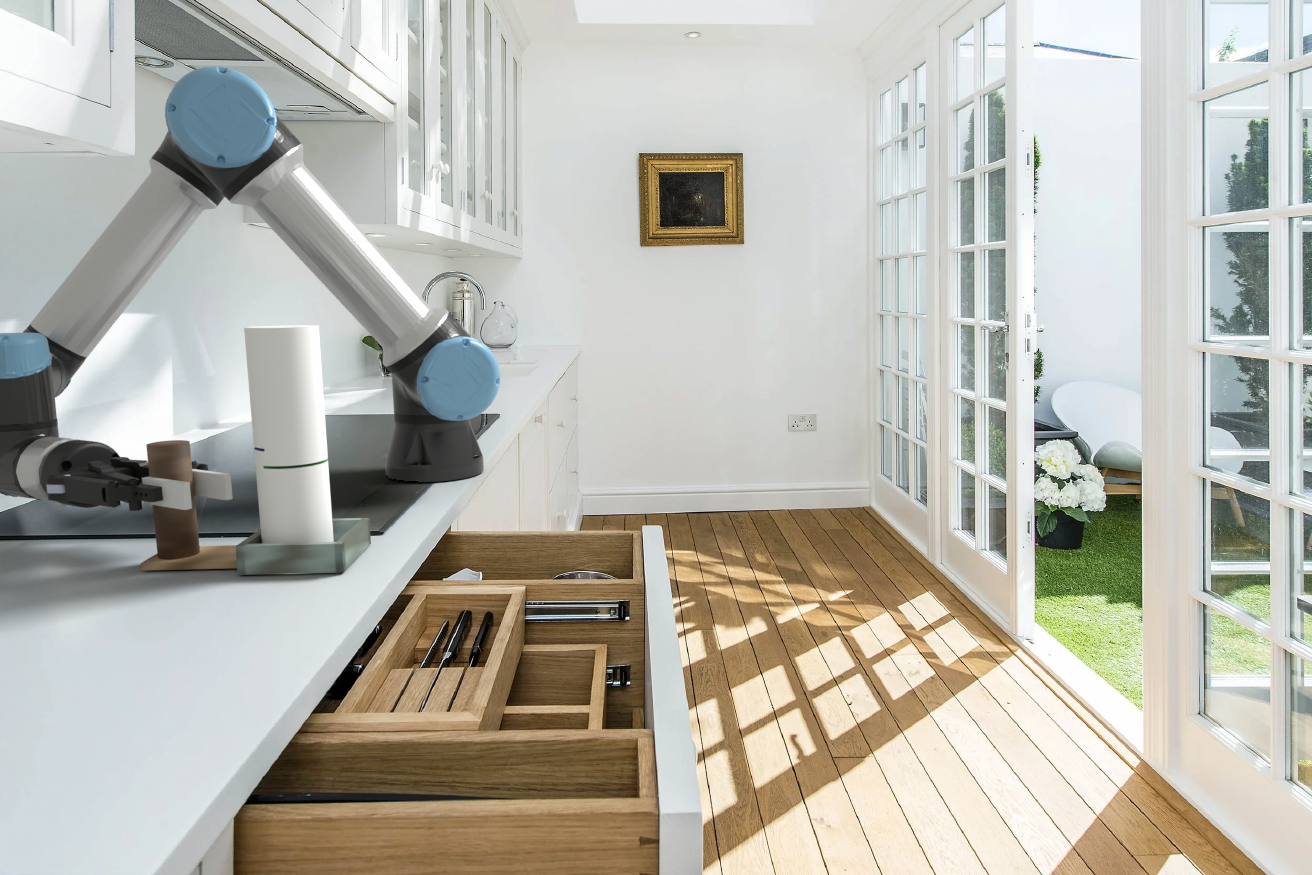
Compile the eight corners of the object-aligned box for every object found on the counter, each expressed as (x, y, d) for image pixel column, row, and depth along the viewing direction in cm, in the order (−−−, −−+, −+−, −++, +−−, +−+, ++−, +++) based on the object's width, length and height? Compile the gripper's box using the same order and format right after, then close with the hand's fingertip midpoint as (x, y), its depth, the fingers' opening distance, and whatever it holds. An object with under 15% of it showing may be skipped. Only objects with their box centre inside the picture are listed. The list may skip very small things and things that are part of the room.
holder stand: (129, 577, 91) (116, 452, 89) (179, 547, 101) (168, 435, 99) (343, 572, 92) (335, 448, 90) (370, 543, 102) (363, 432, 100)
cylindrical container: (310, 547, 102) (294, 324, 98) (348, 557, 98) (332, 325, 94) (250, 562, 96) (230, 327, 92) (287, 574, 92) (268, 328, 88)
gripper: (147, 489, 111) (279, 509, 100) (-6, 520, 96) (131, 547, 85) (141, 429, 110) (274, 442, 99) (-15, 451, 95) (123, 470, 84)
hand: (208, 491), depth 92 cm, fingers closed on holder stand, 4 cm apart
